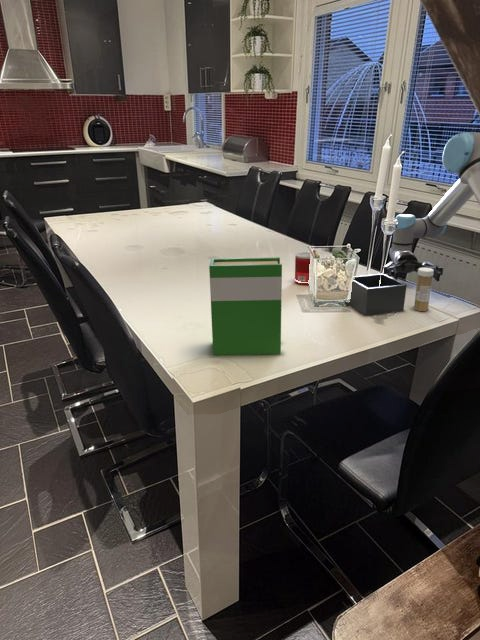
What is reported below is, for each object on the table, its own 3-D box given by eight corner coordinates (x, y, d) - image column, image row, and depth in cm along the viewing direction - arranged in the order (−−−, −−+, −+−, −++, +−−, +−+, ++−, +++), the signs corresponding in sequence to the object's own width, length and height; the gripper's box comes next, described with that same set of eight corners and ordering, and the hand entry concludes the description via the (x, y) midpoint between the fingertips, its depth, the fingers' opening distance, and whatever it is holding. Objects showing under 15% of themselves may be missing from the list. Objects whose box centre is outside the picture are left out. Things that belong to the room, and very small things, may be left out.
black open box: (403, 311, 149) (406, 284, 146) (365, 315, 146) (367, 289, 143) (380, 298, 162) (383, 273, 158) (345, 302, 158) (346, 277, 155)
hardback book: (278, 342, 129) (279, 257, 120) (280, 354, 122) (281, 264, 113) (214, 343, 129) (211, 258, 120) (213, 355, 122) (209, 266, 113)
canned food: (318, 284, 177) (319, 256, 173) (298, 286, 176) (299, 257, 172) (311, 278, 184) (312, 251, 180) (292, 280, 183) (292, 253, 179)
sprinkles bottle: (413, 306, 153) (418, 266, 148) (428, 307, 152) (433, 267, 147) (413, 311, 149) (418, 270, 144) (428, 312, 148) (434, 271, 143)
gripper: (438, 271, 176) (454, 288, 157) (370, 270, 179) (378, 286, 160) (441, 251, 173) (458, 266, 154) (372, 251, 177) (380, 265, 157)
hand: (417, 277), depth 157 cm, fingers open, 13 cm apart
